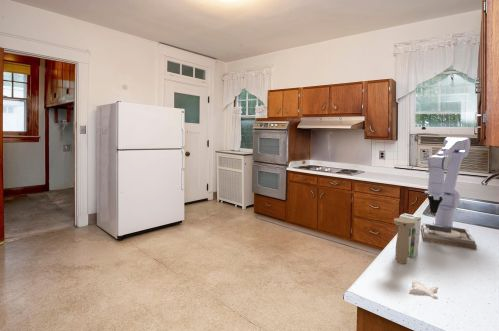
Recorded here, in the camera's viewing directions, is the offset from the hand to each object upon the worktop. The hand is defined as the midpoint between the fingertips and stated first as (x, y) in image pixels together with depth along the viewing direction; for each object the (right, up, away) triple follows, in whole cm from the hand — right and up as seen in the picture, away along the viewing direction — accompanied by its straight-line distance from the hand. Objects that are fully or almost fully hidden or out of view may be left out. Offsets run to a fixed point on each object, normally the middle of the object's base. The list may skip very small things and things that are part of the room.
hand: (433, 212), depth 131 cm
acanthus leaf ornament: (-33, -15, -47) cm, 60 cm away
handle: (-30, -13, -30) cm, 44 cm away
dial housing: (+2, -10, -5) cm, 12 cm away
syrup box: (-24, -12, -22) cm, 34 cm away
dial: (+2, -8, -5) cm, 10 cm away
